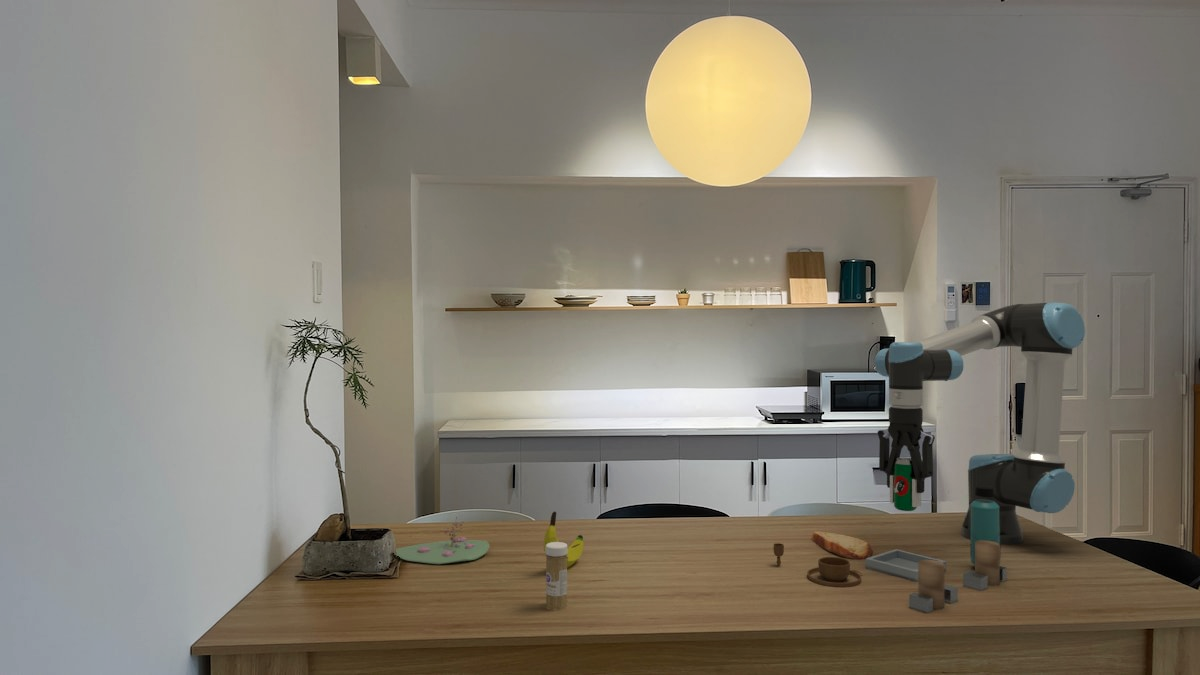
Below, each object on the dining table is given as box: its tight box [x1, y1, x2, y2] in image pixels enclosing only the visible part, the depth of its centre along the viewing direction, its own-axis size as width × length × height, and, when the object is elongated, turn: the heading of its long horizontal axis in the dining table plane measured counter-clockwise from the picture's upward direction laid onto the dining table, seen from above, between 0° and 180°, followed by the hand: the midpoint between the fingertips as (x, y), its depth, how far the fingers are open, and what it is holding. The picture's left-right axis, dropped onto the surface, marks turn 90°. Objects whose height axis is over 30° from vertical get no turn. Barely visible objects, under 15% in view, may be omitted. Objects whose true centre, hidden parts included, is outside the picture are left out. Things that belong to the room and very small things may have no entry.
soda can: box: [893, 457, 918, 512], centre depth 184 cm, size 5×5×12 cm
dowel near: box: [917, 560, 945, 610], centre depth 160 cm, size 5×5×9 cm
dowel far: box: [974, 540, 1001, 587], centre depth 175 cm, size 5×5×9 cm
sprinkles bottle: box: [544, 541, 568, 612], centre depth 160 cm, size 5×5×14 cm
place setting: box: [773, 542, 864, 588], centre depth 182 cm, size 18×20×6 cm
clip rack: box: [908, 565, 1008, 614], centre depth 168 cm, size 34×4×3 cm, turn 128°
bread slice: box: [811, 531, 873, 561], centre depth 203 cm, size 18×18×4 cm
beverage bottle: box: [969, 486, 1002, 566], centre depth 184 cm, size 6×7×20 cm
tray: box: [865, 548, 947, 583], centre depth 184 cm, size 13×13×2 cm
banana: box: [543, 511, 585, 569], centre depth 187 cm, size 5×17×15 cm, turn 155°
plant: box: [395, 517, 490, 565], centre depth 202 cm, size 25×21×9 cm
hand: (905, 503), depth 184 cm, fingers closed on soda can, 5 cm apart
